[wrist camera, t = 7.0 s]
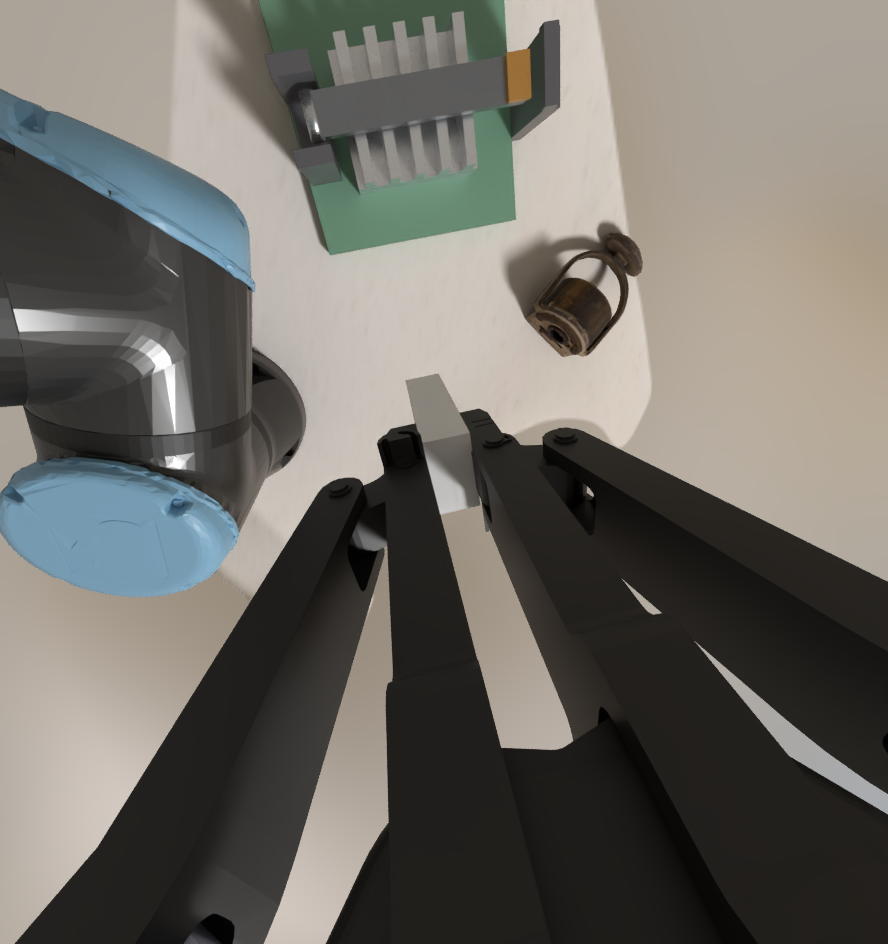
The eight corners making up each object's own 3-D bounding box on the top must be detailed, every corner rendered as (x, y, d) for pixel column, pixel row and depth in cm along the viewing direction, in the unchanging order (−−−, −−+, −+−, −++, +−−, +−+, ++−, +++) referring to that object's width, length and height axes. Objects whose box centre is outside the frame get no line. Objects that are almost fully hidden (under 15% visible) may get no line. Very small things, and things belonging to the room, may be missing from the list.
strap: (313, 144, 27) (309, 139, 26) (299, 95, 26) (295, 88, 24) (525, 105, 27) (531, 99, 26) (523, 55, 26) (529, 46, 25)
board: (331, 255, 36) (329, 255, 35) (262, 9, 28) (258, -1, 27) (511, 220, 37) (515, 219, 36) (497, -28, 29) (502, -38, 28)
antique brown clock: (522, 275, 35) (558, 375, 38) (661, 204, 33) (687, 316, 36) (511, 284, 42) (543, 368, 45) (625, 225, 39) (650, 318, 42)
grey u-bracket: (312, 186, 32) (297, 169, 26) (288, 97, 30) (264, 54, 23) (342, 180, 33) (334, 162, 26) (321, 92, 30) (306, 48, 23)
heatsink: (360, 194, 33) (357, 185, 29) (331, 68, 29) (323, 33, 24) (469, 174, 34) (485, 161, 29) (457, 48, 30) (472, 9, 25)
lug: (505, 142, 34) (545, 106, 26) (501, 81, 32) (544, 22, 24) (520, 139, 34) (564, 103, 26) (517, 78, 32) (565, 18, 24)
